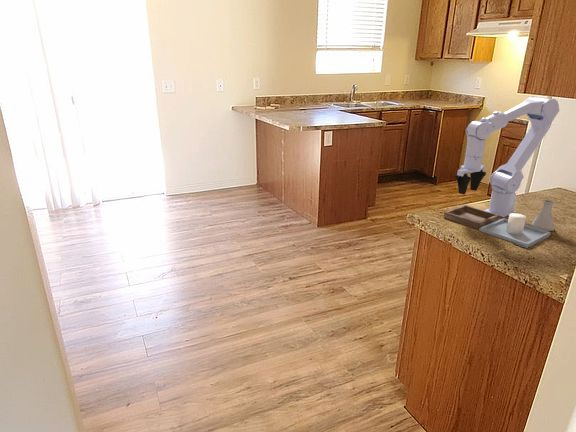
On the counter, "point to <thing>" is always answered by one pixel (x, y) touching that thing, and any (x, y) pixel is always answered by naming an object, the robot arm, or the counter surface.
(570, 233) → the counter surface
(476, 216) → the brown square tray
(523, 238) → the slate tray
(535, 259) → the counter surface
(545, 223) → the flask
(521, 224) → the cream cylinder
